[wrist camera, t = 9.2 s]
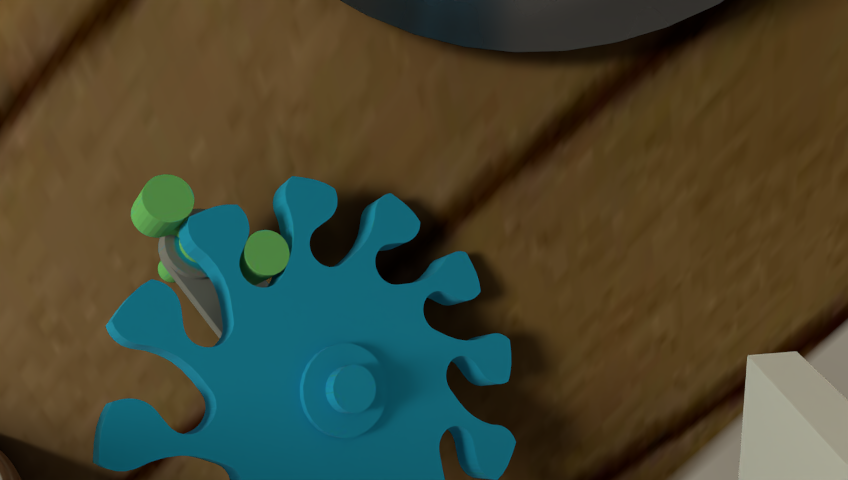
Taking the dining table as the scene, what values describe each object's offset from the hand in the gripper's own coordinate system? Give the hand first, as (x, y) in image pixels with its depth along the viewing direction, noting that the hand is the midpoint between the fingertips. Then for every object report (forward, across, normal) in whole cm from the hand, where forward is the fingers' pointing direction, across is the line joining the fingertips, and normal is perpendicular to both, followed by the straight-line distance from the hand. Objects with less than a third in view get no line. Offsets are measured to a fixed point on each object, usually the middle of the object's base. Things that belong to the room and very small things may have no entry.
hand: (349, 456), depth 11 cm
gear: (+8, -1, -1) cm, 8 cm away
